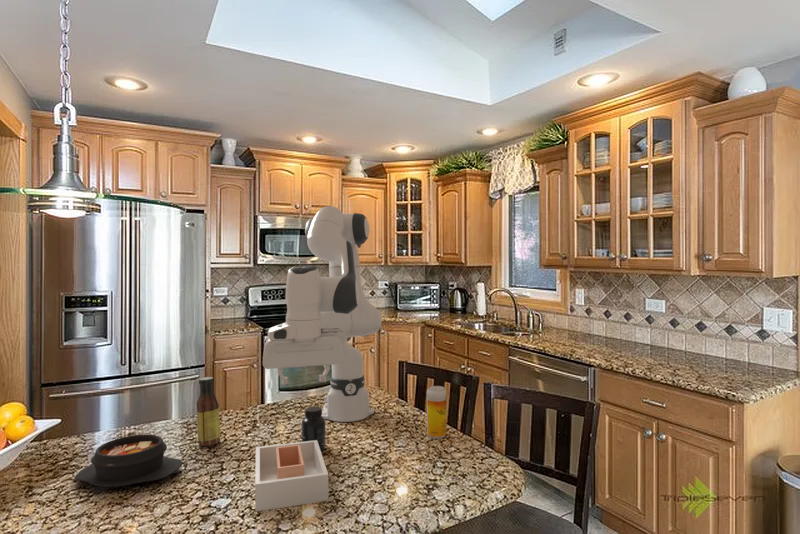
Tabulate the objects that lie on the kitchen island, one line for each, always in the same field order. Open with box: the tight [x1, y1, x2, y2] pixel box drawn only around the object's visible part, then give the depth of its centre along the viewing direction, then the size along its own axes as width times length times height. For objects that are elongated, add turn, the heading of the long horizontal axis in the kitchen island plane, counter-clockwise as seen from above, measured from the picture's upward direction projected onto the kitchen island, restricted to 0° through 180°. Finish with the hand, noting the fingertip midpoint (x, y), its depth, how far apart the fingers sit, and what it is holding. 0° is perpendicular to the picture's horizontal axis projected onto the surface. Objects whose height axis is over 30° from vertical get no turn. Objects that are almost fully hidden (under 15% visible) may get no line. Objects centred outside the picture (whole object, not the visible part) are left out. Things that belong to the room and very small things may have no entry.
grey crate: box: [254, 440, 330, 512], centre depth 116 cm, size 22×16×6 cm
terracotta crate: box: [276, 445, 304, 479], centre depth 116 cm, size 13×6×6 cm, turn 16°
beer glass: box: [426, 385, 448, 440], centre depth 147 cm, size 6×6×15 cm
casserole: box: [74, 434, 183, 488], centre depth 121 cm, size 25×19×8 cm
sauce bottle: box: [196, 376, 221, 447], centre depth 143 cm, size 7×6×20 cm
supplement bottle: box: [301, 406, 326, 453], centre depth 137 cm, size 7×7×12 cm
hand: (304, 383), depth 120 cm, fingers open, 8 cm apart
